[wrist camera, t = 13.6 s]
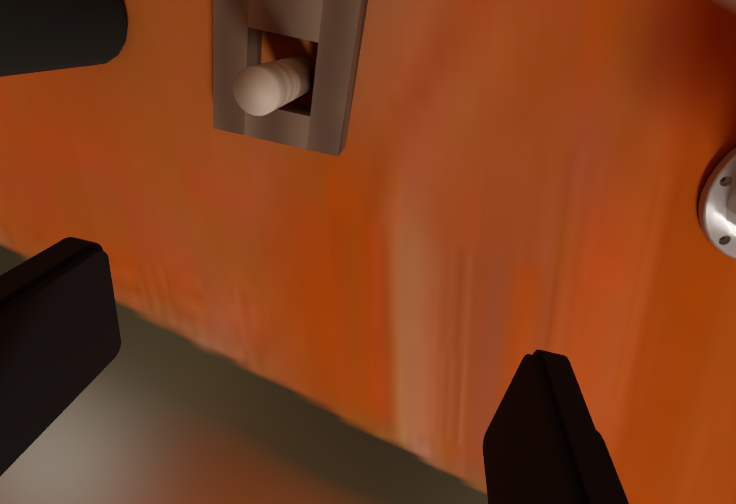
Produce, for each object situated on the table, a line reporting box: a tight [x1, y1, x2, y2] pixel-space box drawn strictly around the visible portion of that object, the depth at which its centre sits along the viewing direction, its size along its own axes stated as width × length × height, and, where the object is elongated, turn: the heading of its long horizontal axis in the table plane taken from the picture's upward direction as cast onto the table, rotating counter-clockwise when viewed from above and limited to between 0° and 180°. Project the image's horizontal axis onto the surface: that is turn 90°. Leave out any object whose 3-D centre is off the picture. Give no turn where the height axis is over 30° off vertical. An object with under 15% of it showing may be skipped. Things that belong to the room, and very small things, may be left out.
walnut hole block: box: [213, 0, 368, 156], centre depth 32 cm, size 11×21×3 cm, turn 170°
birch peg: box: [233, 55, 315, 116], centre depth 31 cm, size 3×3×10 cm
